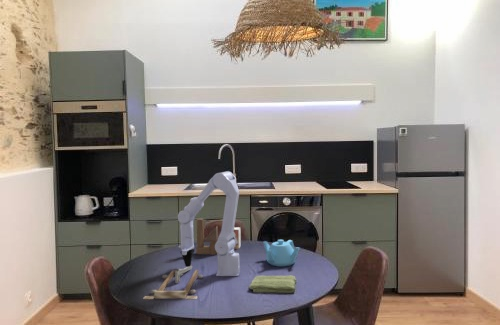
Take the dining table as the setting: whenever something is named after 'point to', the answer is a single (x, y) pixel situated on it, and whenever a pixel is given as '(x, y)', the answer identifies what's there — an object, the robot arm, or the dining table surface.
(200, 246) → the brown wooden frame
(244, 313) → the dining table surface
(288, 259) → the teapot
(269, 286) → the washcloth
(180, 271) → the caliper
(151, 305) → the dining table surface
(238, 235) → the small box
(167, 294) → the rails
